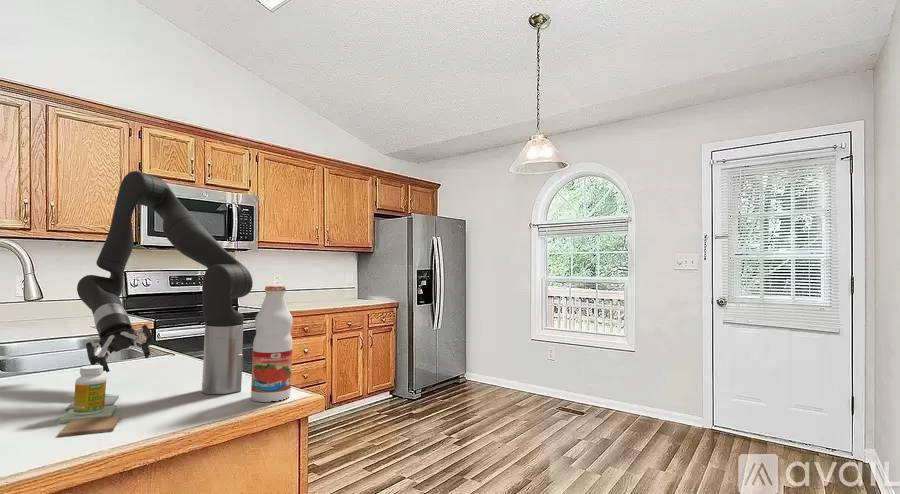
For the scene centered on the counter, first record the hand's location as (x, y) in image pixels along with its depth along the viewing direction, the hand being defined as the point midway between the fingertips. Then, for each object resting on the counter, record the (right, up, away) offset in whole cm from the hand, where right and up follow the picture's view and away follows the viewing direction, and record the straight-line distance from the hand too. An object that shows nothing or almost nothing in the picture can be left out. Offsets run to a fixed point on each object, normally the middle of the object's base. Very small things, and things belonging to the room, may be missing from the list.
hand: (127, 362), depth 121 cm
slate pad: (-2, -7, -9) cm, 12 cm away
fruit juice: (+36, -9, 0) cm, 37 cm away
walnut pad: (+10, -7, -25) cm, 28 cm away
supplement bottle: (+3, -7, -17) cm, 19 cm away
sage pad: (+3, -7, -17) cm, 19 cm away
